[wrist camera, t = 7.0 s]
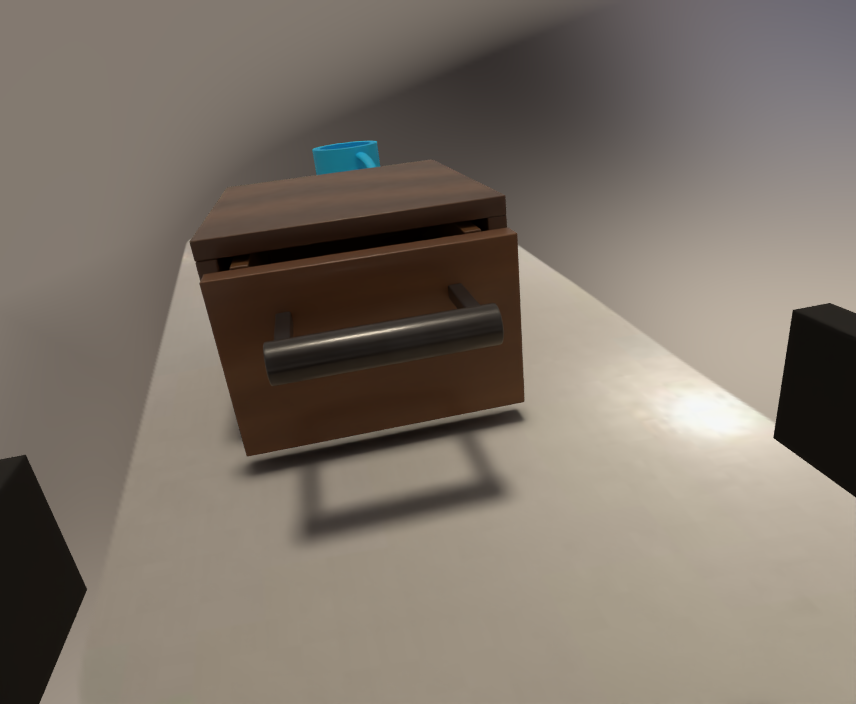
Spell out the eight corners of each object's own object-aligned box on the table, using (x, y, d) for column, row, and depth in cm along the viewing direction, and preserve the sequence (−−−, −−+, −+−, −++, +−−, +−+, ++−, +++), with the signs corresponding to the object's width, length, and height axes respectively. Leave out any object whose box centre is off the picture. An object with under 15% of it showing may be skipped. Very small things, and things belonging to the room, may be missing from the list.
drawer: (568, 461, 23) (567, 264, 20) (237, 532, 22) (175, 329, 18) (450, 302, 41) (439, 183, 38) (262, 334, 39) (233, 212, 36)
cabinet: (515, 387, 31) (505, 195, 27) (243, 439, 29) (188, 241, 25) (445, 294, 45) (432, 159, 41) (259, 325, 43) (226, 187, 39)
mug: (314, 213, 80) (302, 149, 77) (368, 201, 84) (359, 140, 81) (352, 225, 71) (341, 153, 68) (412, 211, 75) (404, 142, 71)
